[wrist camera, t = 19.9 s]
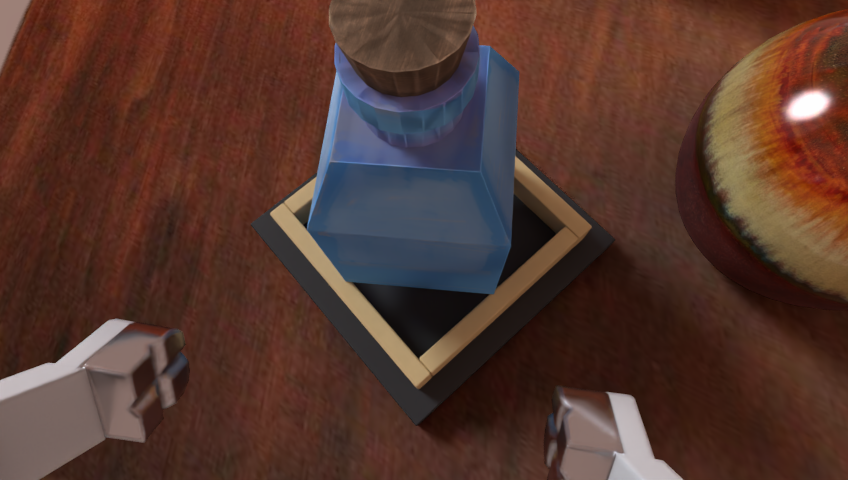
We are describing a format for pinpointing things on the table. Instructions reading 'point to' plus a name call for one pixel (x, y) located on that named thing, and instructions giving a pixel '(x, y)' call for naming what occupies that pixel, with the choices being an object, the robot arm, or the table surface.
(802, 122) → the vase
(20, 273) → the table surface
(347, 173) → the perfume bottle
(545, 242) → the picture frame
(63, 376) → the robot arm
